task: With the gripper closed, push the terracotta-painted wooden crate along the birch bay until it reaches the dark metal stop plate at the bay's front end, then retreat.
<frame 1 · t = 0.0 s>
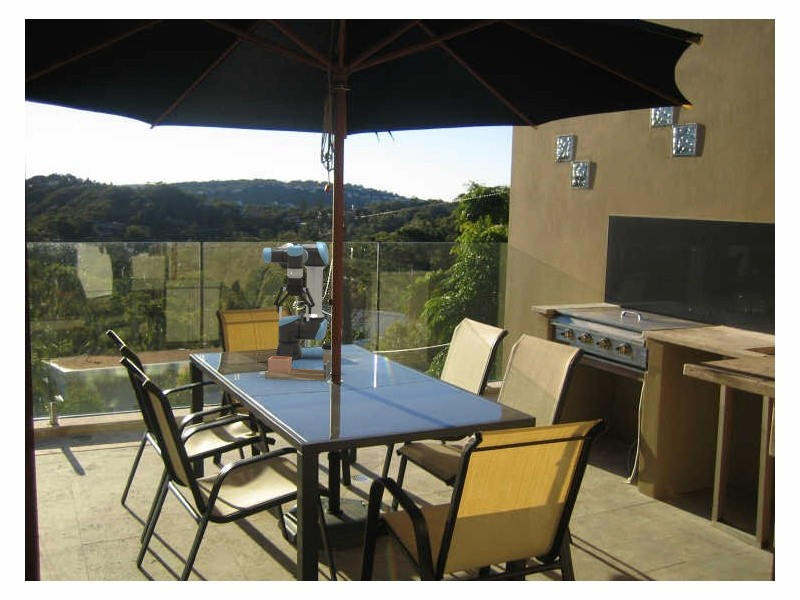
hand: (294, 320, 406), 28 cm above the table, fingers open, 13 cm apart
coffee cup: (330, 373, 418), on the table
bay: (297, 377, 407), on the table
crate: (280, 365, 407), point 5 cm above the table, slide at 0.0 cm
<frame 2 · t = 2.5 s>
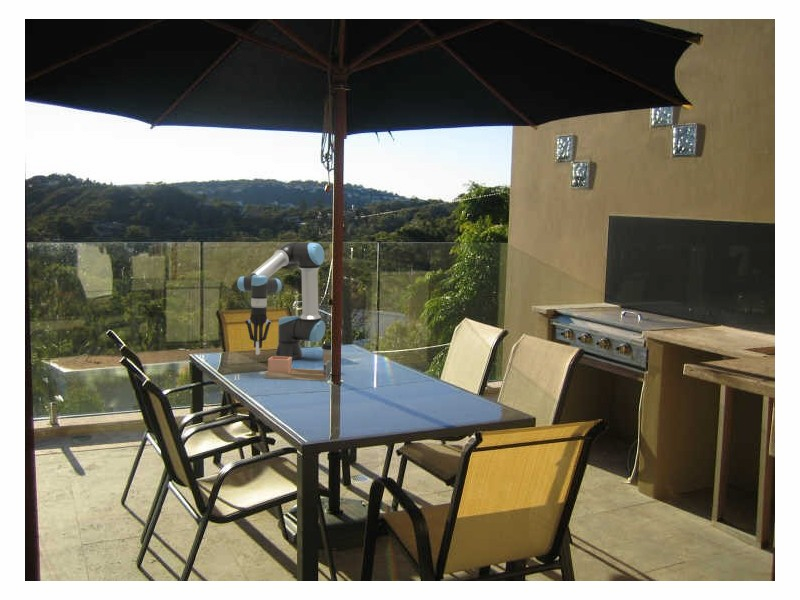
hand: (257, 354, 407), 11 cm above the table, fingers closed
nothing on the table moved.
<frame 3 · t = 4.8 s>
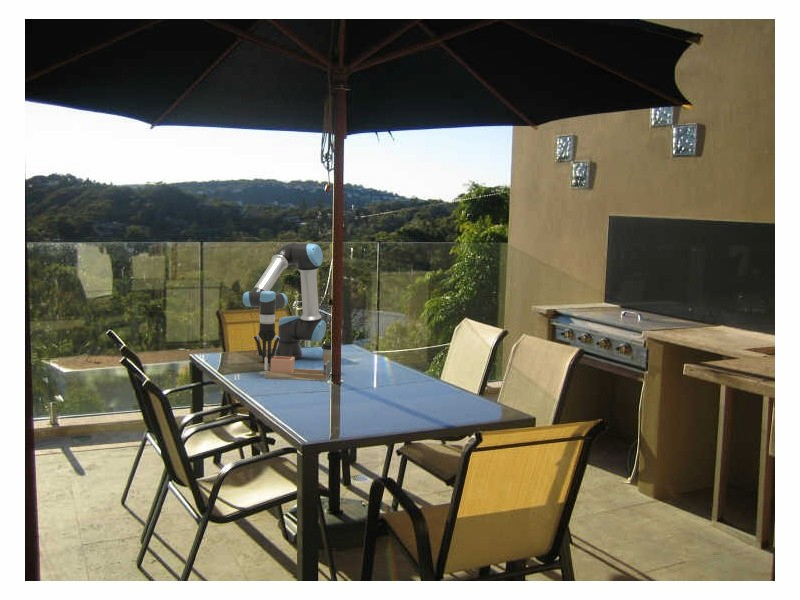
hand: (266, 369, 408), 3 cm above the table, fingers closed
crate: (282, 365, 407), point 5 cm above the table, slide at 1.3 cm, touching gripper
everything else where it was.
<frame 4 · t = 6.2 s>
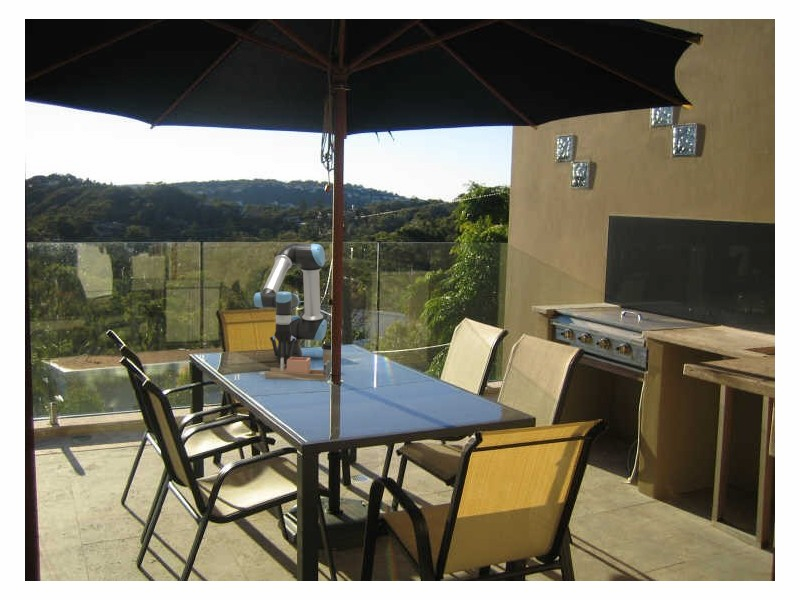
hand: (282, 370, 407), 3 cm above the table, fingers closed
crate: (298, 366, 406), point 5 cm above the table, slide at 9.4 cm, touching gripper
everything else where it was.
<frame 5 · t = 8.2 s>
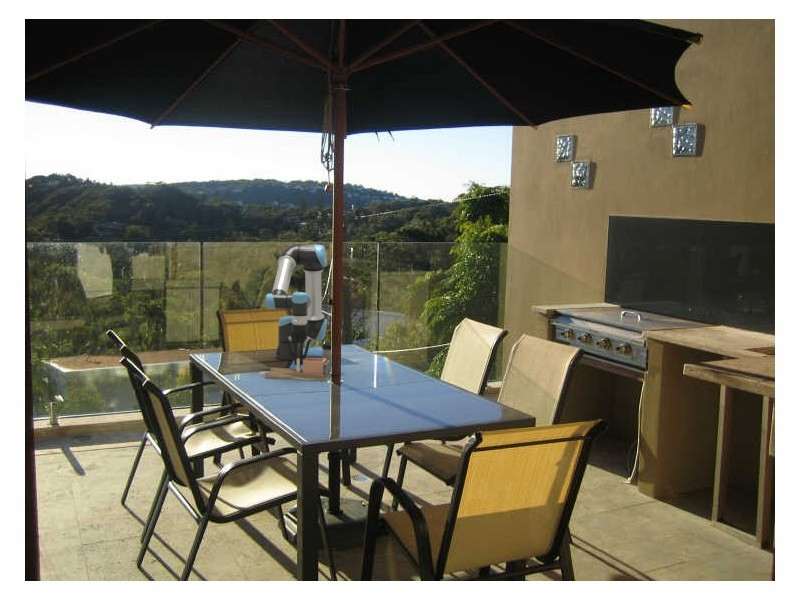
hand: (298, 371, 406), 3 cm above the table, fingers closed
crate: (314, 367, 405), point 5 cm above the table, slide at 17.4 cm, touching gripper
everything else where it was.
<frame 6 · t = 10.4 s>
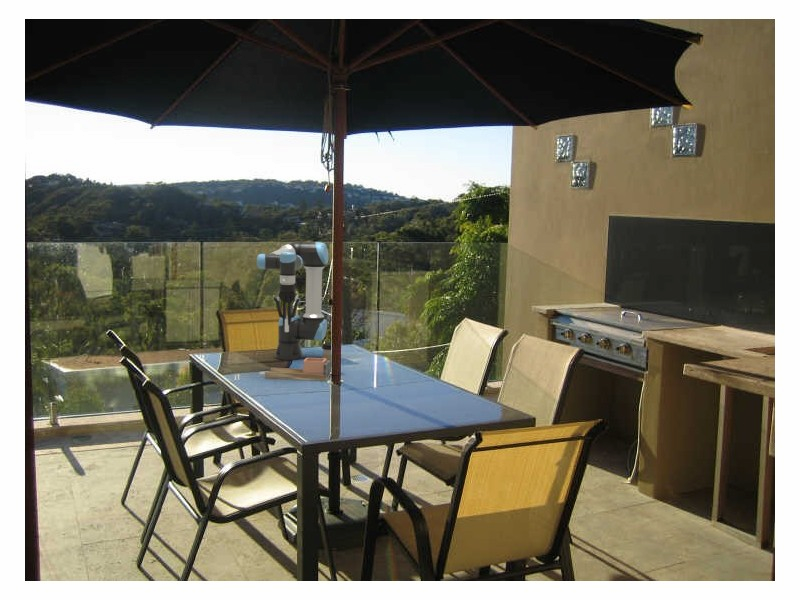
hand: (286, 331, 405), 22 cm above the table, fingers closed
crate: (315, 367, 405), point 5 cm above the table, slide at 17.5 cm
everything else where it was.
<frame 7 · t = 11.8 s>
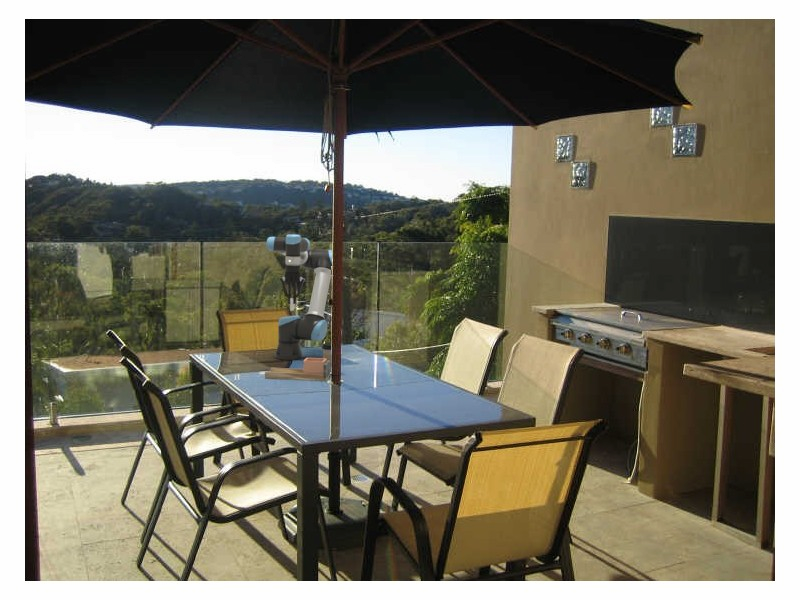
hand: (292, 310, 425), 30 cm above the table, fingers closed
nothing on the table moved.
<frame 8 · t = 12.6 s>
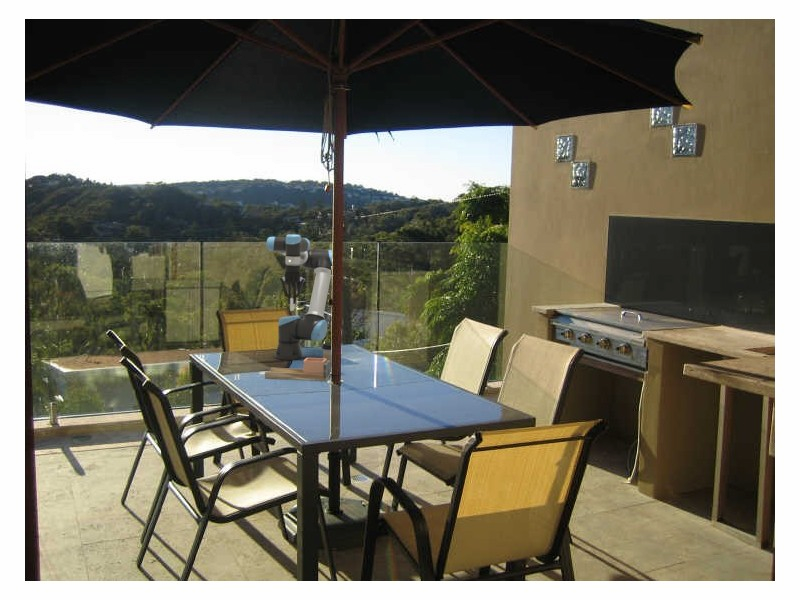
hand: (292, 310, 425), 30 cm above the table, fingers closed
nothing on the table moved.
at the end: crate slide at 17.5 cm; crate 1.5 cm from the target spot on the bay, point 5.3 cm above the bay's base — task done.
